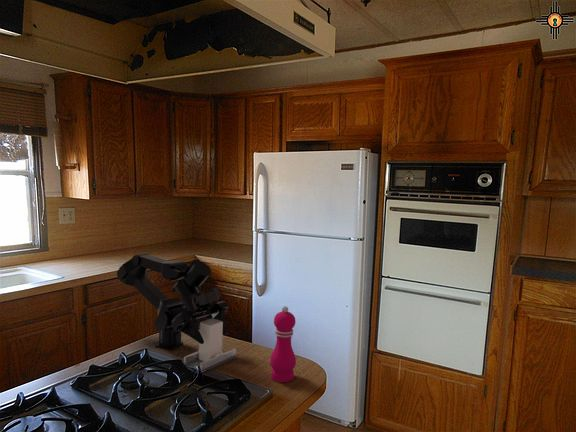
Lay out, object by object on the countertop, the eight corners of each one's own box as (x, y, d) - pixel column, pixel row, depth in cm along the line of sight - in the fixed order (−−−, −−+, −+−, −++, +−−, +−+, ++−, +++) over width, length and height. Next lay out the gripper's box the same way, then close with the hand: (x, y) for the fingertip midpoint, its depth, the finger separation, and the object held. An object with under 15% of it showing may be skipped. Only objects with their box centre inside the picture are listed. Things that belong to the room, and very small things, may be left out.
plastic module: (198, 359, 117) (199, 321, 116) (211, 353, 121) (212, 317, 120) (209, 363, 114) (210, 325, 114) (221, 357, 118) (222, 320, 118)
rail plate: (183, 365, 114) (183, 355, 114) (217, 350, 125) (218, 341, 125) (202, 373, 109) (202, 362, 109) (236, 357, 121) (236, 347, 121)
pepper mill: (298, 381, 107) (302, 309, 106) (273, 384, 104) (276, 310, 103) (290, 370, 113) (293, 302, 112) (266, 372, 111) (269, 303, 110)
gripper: (179, 285, 111) (205, 332, 105) (225, 275, 126) (250, 316, 120) (160, 307, 116) (184, 353, 110) (207, 295, 131) (230, 336, 125)
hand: (214, 338), depth 116 cm, fingers open, 9 cm apart
